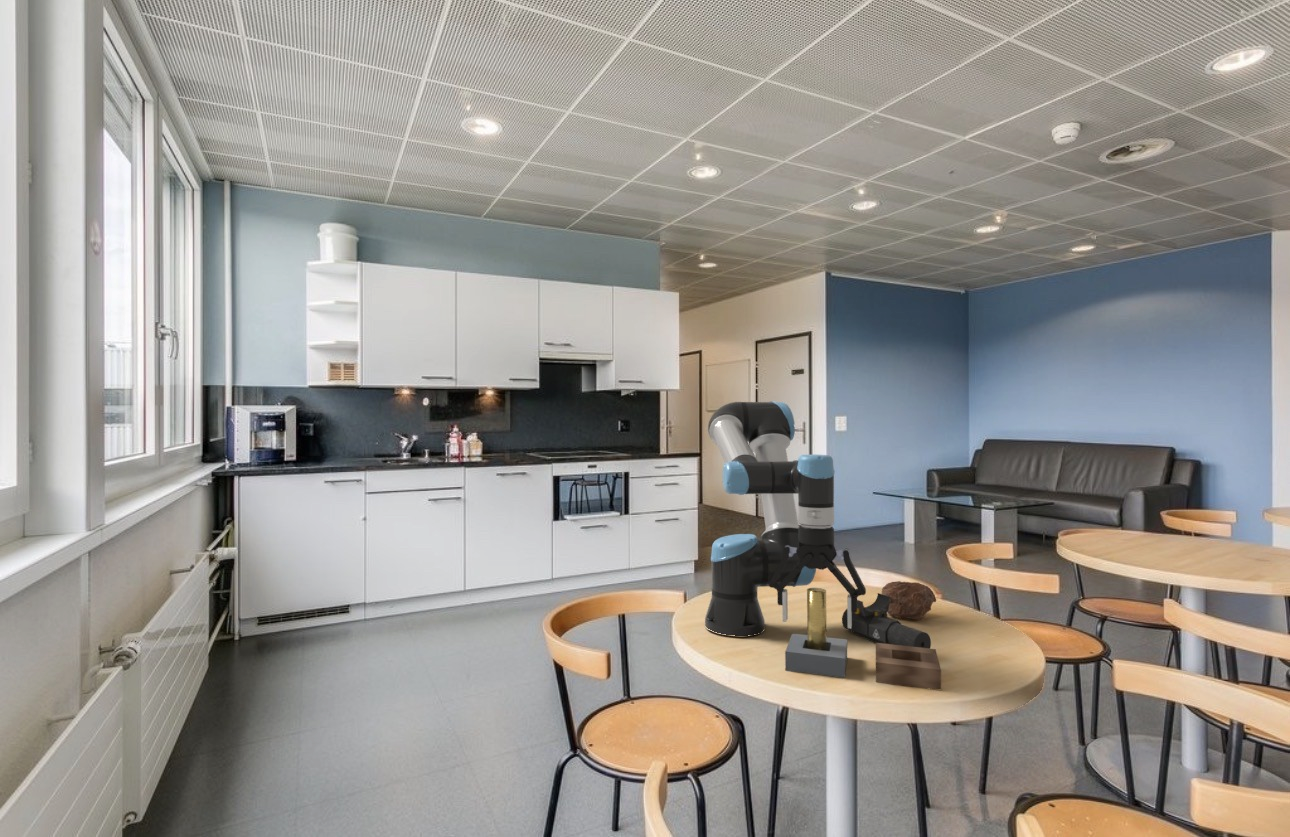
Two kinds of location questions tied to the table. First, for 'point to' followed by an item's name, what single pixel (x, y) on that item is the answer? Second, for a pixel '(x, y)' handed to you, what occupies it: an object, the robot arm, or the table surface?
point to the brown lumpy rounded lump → (908, 599)
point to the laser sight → (883, 625)
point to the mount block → (816, 657)
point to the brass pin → (816, 619)
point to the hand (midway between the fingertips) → (816, 623)
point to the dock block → (907, 666)
